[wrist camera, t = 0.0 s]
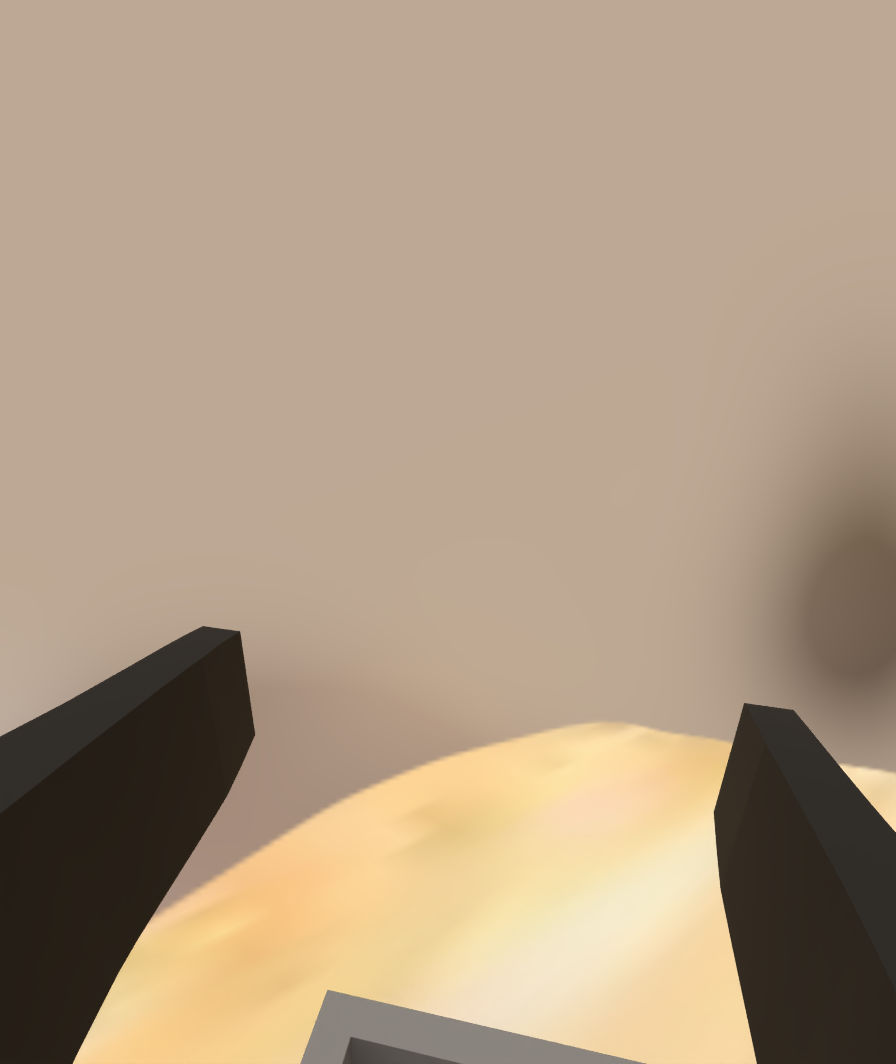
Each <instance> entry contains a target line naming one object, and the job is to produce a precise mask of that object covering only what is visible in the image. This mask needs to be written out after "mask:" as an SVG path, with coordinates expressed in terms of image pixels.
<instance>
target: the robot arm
mask: <svg viewBox="0 0 896 1064" xmlns="http://www.w3.org/2000/svg"><path fill="white" fill-rule="evenodd" d="M254 736H255V730H254V724H253V717H252V710H251V703H250V696H249V689H248V683H247V676H246V669H245V662H244V655H243V648H242V641H241V634H240V631H233V630H226V629H219V628H211V627H205V626H203V627H201V628H198V629H196V630H194V631H192V632H190V633H188V634H186V635H185V636H183V637H181V638H179V639H177V640H175V641H173V642H172V643H170V644H168V645H166V646H164V647H163V648H161V649H159V650H157V651H156V652H154V653H152V654H150V655H149V656H147V657H145V658H144V659H142V660H140V661H138V662H136V663H135V664H133V665H131V666H129V667H128V668H126V669H124V670H122V671H121V672H119V673H117V674H116V675H113V676H112V677H110V678H108V679H106V680H105V681H103V682H101V683H99V684H98V685H96V686H94V687H93V688H90V689H89V690H87V691H85V692H83V693H82V694H80V695H78V696H76V697H75V698H73V699H71V700H69V701H67V702H66V703H64V704H62V705H60V706H58V707H56V708H54V709H52V710H50V711H48V712H47V713H45V714H43V715H41V716H39V717H37V718H35V719H33V720H31V721H29V722H27V723H25V724H24V725H22V726H20V727H18V728H16V729H14V730H12V731H10V732H8V733H6V734H4V735H2V736H1V737H0V1064H73V1061H74V1059H75V1057H76V1055H77V1053H78V1051H79V1049H80V1047H81V1045H82V1043H83V1041H84V1039H85V1037H86V1035H87V1033H88V1031H89V1030H90V1028H91V1026H92V1024H93V1022H94V1020H95V1018H96V1016H97V1014H98V1012H99V1010H100V1008H101V1006H102V1004H103V1002H104V1000H105V998H106V996H107V994H108V992H109V990H110V988H111V986H112V984H113V982H114V981H115V979H116V977H117V975H118V973H119V971H120V969H121V968H122V966H123V964H124V962H125V961H126V959H127V957H128V955H129V954H130V952H131V950H132V949H133V947H134V945H135V943H136V942H137V940H138V938H139V937H140V935H141V933H142V932H143V930H144V929H145V927H146V925H147V924H148V922H149V921H150V919H151V917H152V916H153V914H154V913H155V911H156V909H157V908H158V906H159V905H160V903H161V902H162V900H163V898H164V897H165V895H166V893H167V892H168V890H169V889H170V887H171V885H172V884H173V882H174V881H175V879H176V878H177V876H178V874H179V873H180V871H181V870H182V868H183V866H184V865H185V863H186V862H187V860H188V859H189V857H190V855H191V854H192V852H193V851H194V849H195V847H196V846H197V844H198V842H199V841H200V839H201V837H202V836H203V834H204V833H205V831H206V830H207V828H208V826H209V825H210V823H211V822H212V820H213V818H214V817H215V815H216V813H217V812H218V810H219V808H220V807H221V805H222V803H223V802H224V800H225V798H226V797H227V795H228V793H229V791H230V789H231V787H232V784H233V782H234V780H235V778H236V776H237V774H238V772H239V770H240V768H241V765H242V763H243V761H244V759H245V756H246V754H247V752H248V749H249V747H250V745H251V743H252V740H253V738H254ZM714 821H715V834H716V846H717V858H718V868H719V878H720V888H721V893H722V898H723V903H724V908H725V913H726V918H727V923H728V928H729V933H730V938H731V942H732V947H733V952H734V957H735V962H736V966H737V971H738V976H739V981H740V985H741V990H742V995H743V999H744V1004H745V1009H746V1014H747V1018H748V1023H749V1028H750V1033H751V1037H752V1042H753V1047H754V1052H755V1056H756V1061H757V1064H896V832H895V831H894V830H893V829H892V828H891V827H890V825H889V824H888V823H887V822H886V821H885V820H884V819H883V817H882V816H881V815H880V814H879V813H878V812H877V810H876V809H875V808H874V807H873V806H872V805H871V803H870V802H869V801H868V800H867V799H866V797H865V796H864V795H863V794H862V793H861V791H860V790H859V789H858V788H857V787H856V785H855V784H854V783H853V782H852V781H851V779H850V778H849V777H848V776H847V775H846V773H845V772H844V771H843V770H842V769H841V767H840V766H839V765H838V764H837V762H836V761H835V760H834V759H833V758H832V756H831V755H830V754H829V753H828V752H827V750H826V749H825V748H824V747H823V745H822V744H821V743H820V742H819V740H818V739H817V738H816V737H815V736H814V734H813V733H812V732H811V731H810V730H809V728H808V727H807V726H806V725H805V723H804V722H803V721H802V720H801V719H800V717H799V716H798V715H797V714H796V713H795V711H794V710H789V709H782V708H775V707H768V706H761V705H753V704H747V703H744V706H743V709H742V713H741V717H740V721H739V724H738V727H737V731H736V735H735V738H734V742H733V745H732V749H731V752H730V756H729V760H728V763H727V767H726V770H725V774H724V778H723V781H722V785H721V788H720V792H719V795H718V799H717V803H716V806H715V810H714Z"/></svg>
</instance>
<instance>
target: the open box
mask: <svg viewBox="0 0 896 1064" xmlns="http://www.w3.org/2000/svg"><path fill="white" fill-rule="evenodd" d="M301 1064H645V1063H641V1062H636V1061H632V1060H628V1059H624V1058H619V1057H615V1056H611V1055H606V1054H602V1053H598V1052H593V1051H589V1050H585V1049H580V1048H576V1047H572V1046H567V1045H563V1044H559V1043H555V1042H550V1041H546V1040H542V1039H537V1038H533V1037H529V1036H524V1035H520V1034H516V1033H511V1032H507V1031H503V1030H498V1029H494V1028H490V1027H486V1026H481V1025H477V1024H473V1023H468V1022H464V1021H460V1020H455V1019H451V1018H447V1017H442V1016H438V1015H434V1014H429V1013H425V1012H421V1011H417V1010H412V1009H408V1008H404V1007H399V1006H395V1005H391V1004H386V1003H382V1002H378V1001H373V1000H369V999H365V998H360V997H356V996H352V995H348V994H343V993H339V992H335V991H330V990H327V993H326V995H325V998H324V1001H323V1004H322V1006H321V1009H320V1012H319V1015H318V1017H317V1020H316V1023H315V1025H314V1028H313V1031H312V1034H311V1036H310V1039H309V1042H308V1045H307V1047H306V1050H305V1053H304V1055H303V1058H302V1061H301Z"/></svg>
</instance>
